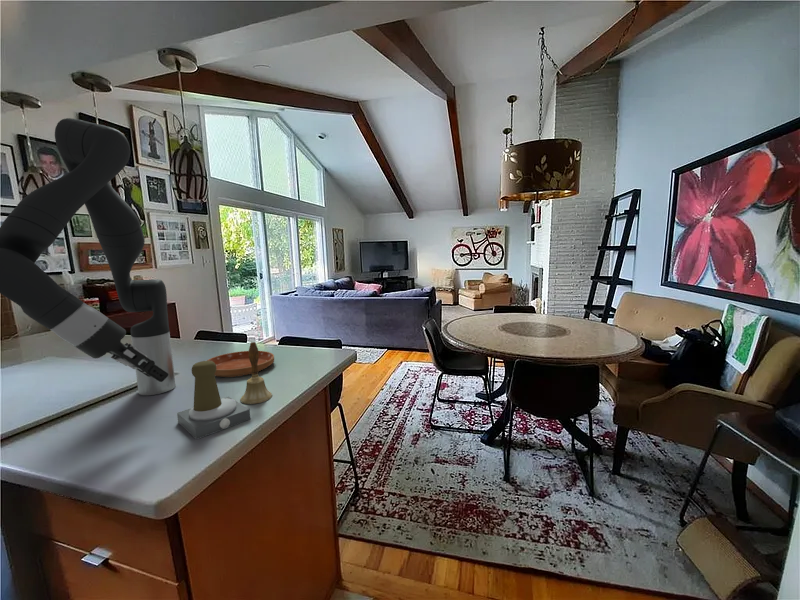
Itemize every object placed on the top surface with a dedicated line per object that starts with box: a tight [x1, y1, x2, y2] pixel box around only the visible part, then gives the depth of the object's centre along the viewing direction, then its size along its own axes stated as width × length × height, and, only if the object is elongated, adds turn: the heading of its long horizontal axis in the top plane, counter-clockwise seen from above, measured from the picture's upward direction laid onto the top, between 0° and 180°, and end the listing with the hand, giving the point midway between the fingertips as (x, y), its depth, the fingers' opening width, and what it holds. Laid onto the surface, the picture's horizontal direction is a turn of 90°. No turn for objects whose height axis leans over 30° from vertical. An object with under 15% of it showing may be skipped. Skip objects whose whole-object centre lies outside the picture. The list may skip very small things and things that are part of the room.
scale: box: [176, 396, 251, 440], centre depth 84 cm, size 12×12×4 cm
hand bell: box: [239, 341, 273, 405], centre depth 96 cm, size 8×8×16 cm
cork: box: [191, 360, 222, 411], centre depth 83 cm, size 6×6×11 cm
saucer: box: [206, 350, 275, 378], centre depth 123 cm, size 23×23×4 cm
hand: (158, 375), depth 79 cm, fingers open, 8 cm apart
